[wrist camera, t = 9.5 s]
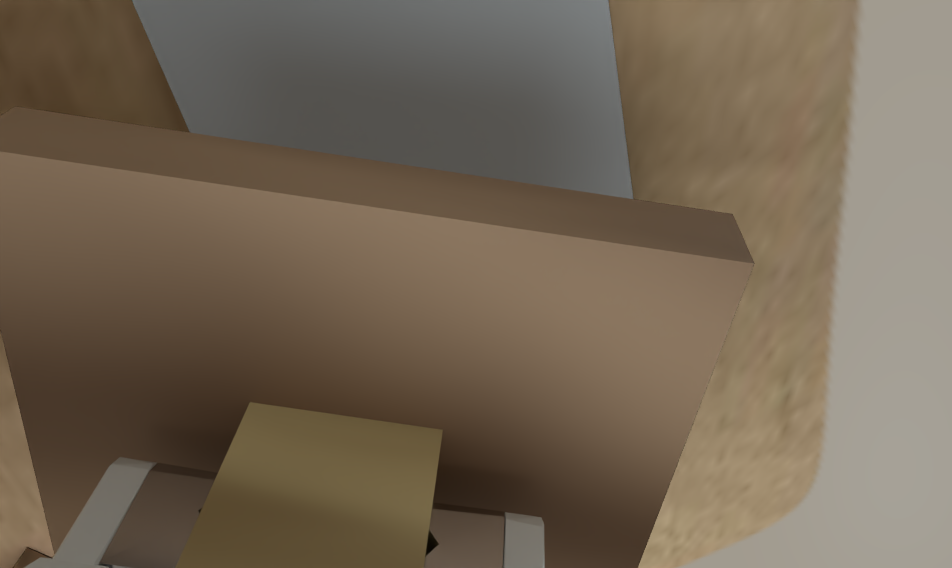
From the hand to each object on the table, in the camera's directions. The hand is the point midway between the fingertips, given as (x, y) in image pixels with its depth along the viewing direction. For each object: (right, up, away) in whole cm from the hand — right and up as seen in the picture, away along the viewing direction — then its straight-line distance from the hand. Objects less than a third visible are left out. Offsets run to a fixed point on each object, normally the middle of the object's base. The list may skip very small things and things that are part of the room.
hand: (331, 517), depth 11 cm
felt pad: (0, +7, +10) cm, 13 cm away
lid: (0, +1, +2) cm, 2 cm away
